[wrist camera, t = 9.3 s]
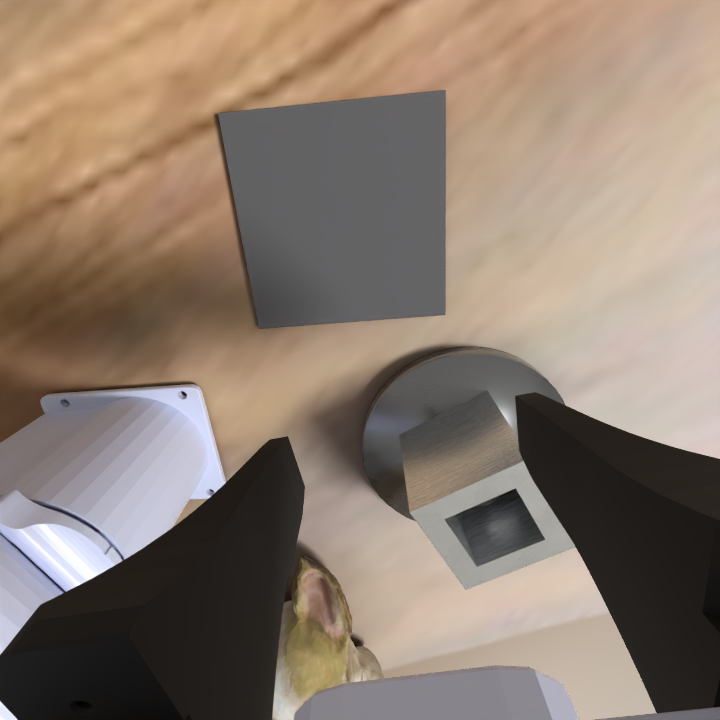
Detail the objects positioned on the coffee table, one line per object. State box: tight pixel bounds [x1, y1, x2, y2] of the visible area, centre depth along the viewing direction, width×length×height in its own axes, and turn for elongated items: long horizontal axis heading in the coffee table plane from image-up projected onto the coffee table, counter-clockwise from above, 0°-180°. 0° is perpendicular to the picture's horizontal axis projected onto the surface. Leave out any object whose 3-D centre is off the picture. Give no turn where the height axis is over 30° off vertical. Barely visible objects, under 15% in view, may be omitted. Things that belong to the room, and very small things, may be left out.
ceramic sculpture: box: [272, 555, 384, 720], centre depth 26 cm, size 11×9×15 cm
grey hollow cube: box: [399, 391, 575, 590], centre depth 20 cm, size 6×6×6 cm
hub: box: [363, 347, 565, 521], centre depth 21 cm, size 12×12×5 cm
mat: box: [218, 90, 446, 329], centre depth 19 cm, size 10×10×1 cm
